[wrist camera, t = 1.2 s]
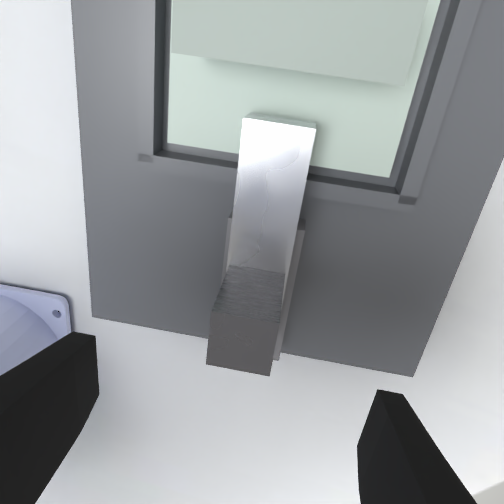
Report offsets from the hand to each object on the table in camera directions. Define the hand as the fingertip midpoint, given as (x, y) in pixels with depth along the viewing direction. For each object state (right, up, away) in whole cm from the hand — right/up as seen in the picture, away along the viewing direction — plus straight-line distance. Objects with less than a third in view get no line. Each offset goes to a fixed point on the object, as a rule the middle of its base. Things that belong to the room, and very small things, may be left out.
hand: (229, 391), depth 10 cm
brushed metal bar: (+1, +4, +5) cm, 7 cm away
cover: (+2, +11, +3) cm, 12 cm away
